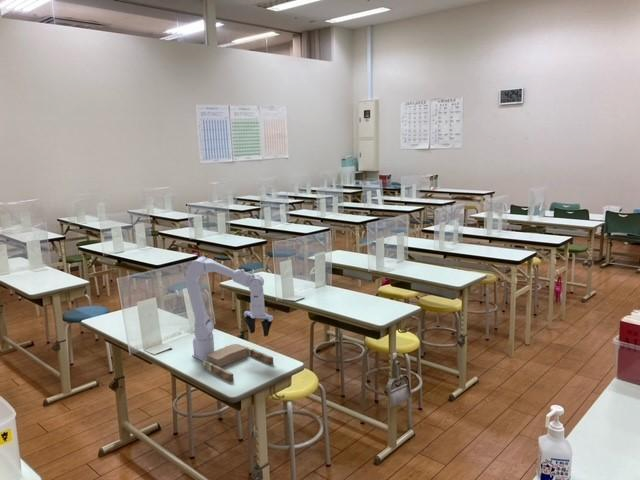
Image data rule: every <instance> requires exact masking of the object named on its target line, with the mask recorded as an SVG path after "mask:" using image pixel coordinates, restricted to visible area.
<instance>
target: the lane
mask: <svg viewBox="0 0 640 480" xmlns="http://www.w3.org/2000/svg"><path fill="white" fill-rule="evenodd" d="M243 346H244V347H246V348H247V351H248V355H247V356H250V357H253V358H255V359H257V360H259V361H262V362H264V363H266V364H268V365H269V366H270V365H271V366H272V365H274V357H273V356H271V355H268V354H266V353H263V352H262V351H259V350H256V349H254V348H252V347H249V346H247V345H243ZM202 368H204V369H205V370H208V371H209V372H211V373H213V374H215V375H217V376H218V377H221V378H223V379H224V380H227V381H229V382H231V383H232V382H234V380H235V379H234V373H233V372H230V371H228V370H227V369H224V368H222V367H218V366H216V365H214V364H212V363H210V362H208V361H207V360H204V361H202Z"/></svg>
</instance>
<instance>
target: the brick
mask: <svg viewBox="0 0 640 480" xmlns="http://www.w3.org/2000/svg"><path fill="white" fill-rule="evenodd" d="M244 346H245V345H241V344H239V343H233V344H230V345H227V346H226V345H225V346H224V347H222V348H219V349H217V350H214V352H211V353H209V354H207V355H206V356H207V360H206V361H208V362H210V363H212V364H214V365H216V366H218V367H220V368H222V367H225V366H228V365H230V364H232V363H234V362H236V361H239V360H242V359H244V358H247V357H248V356H249V355H248V351H247V348H246V347H244Z"/></svg>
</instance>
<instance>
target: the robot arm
mask: <svg viewBox="0 0 640 480" xmlns="http://www.w3.org/2000/svg"><path fill="white" fill-rule="evenodd" d="M214 272H215V273H217V274H220V275H222V276H226V277H228V278H230V279H231V280H232V281H233V282H234V283H236V284H238V285H241V286H243V287H246V288H248V289H249V291H250V309H251V311H249V310H246V311H244V313H243V316H244V319H243V320H244V322H245V324H247V327H248V329H249V332H250V334H254V333H255V332H256V319H260V320H262V321H260V323H261V326H262V330H263V336H264V337H268V336H269V333H270V328H271V326H272V323H273V322H274V316H273V315H270V314H268V313H266V310H265V309H266V308H265V307H266V306H265V293H264V287H263V286H264V285H265V280H264V278H263V277H262V276H261V275H259V274H255V273H249V272H247V271H245V269H243V268H241V269H239V268H238V269H235V270H234V269H233V268H231V267H228V266H226V265H224V264H222V263H219V262H218V261H215V260H213V259H212V258H210V257H209V258H208V257H206V256H199V257H197V258H196V259H195V260H193V261H192V262H191V263H190V264H189V265H188V267H187V270H186V273H185V274H186V275H185V277H184V282H185V285H186V289H187V293H188V297H189V300H190V304H191V308H192V312H193V317H194V331H193V332H194V338H193V340H192V348H193V354H192V357H193V358H196V359H198V360H200V361H201V362H203V361H204V360H206V361H207V356H206V355H207V354H209V353H211V352H214V351H215V338H214V334H213V331H214V328H215V324H214V322H213V321H212V320H211V318H210V315H208V313H207V310H206V305H205V302H204V299H203V294H202V290H201V286H200V283H199V279H200V278H201V276H202V275H203V273H205V274H208V273H214Z"/></svg>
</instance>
